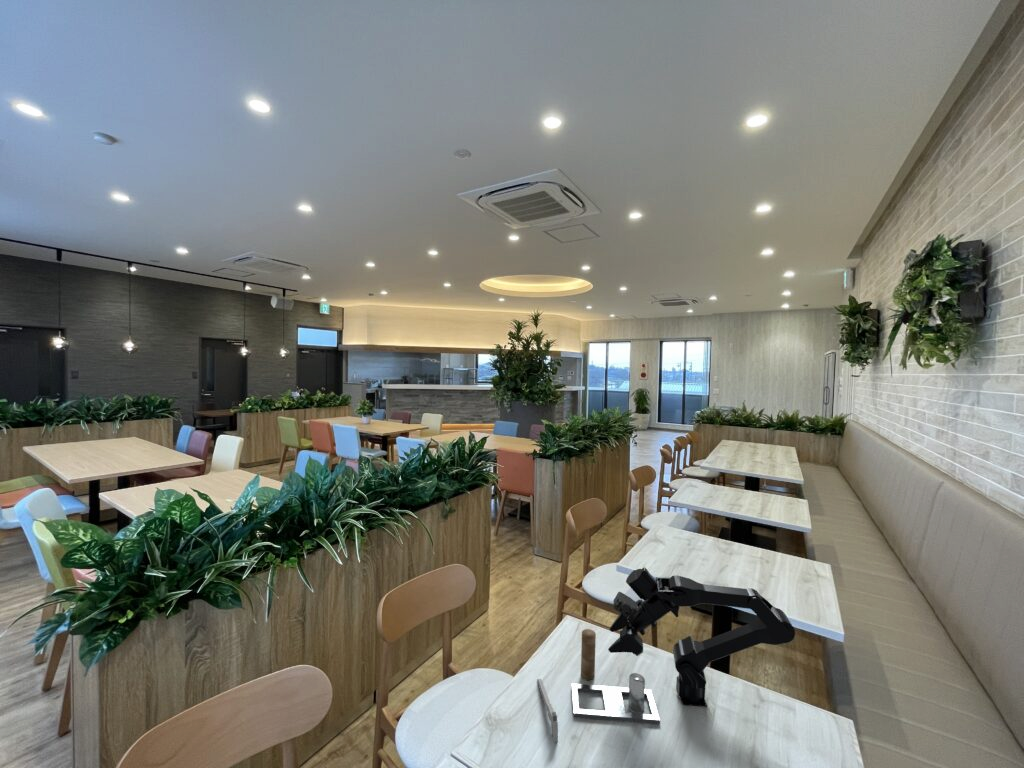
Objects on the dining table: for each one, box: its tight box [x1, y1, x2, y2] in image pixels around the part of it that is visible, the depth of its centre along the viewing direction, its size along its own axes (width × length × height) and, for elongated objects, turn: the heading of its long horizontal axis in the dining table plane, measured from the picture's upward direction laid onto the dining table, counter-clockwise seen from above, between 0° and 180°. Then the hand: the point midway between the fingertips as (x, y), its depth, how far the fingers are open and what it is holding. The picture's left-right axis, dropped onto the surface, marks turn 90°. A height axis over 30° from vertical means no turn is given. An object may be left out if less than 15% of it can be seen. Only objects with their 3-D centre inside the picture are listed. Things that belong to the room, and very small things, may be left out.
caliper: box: [536, 678, 559, 743], centre depth 113 cm, size 20×1×6 cm, turn 8°
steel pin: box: [627, 672, 646, 714], centre depth 114 cm, size 4×4×8 cm
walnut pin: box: [580, 628, 597, 682], centre depth 125 cm, size 4×4×13 cm
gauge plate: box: [571, 682, 661, 725], centre depth 114 cm, size 22×10×1 cm, turn 85°
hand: (609, 640), depth 123 cm, fingers open, 9 cm apart
